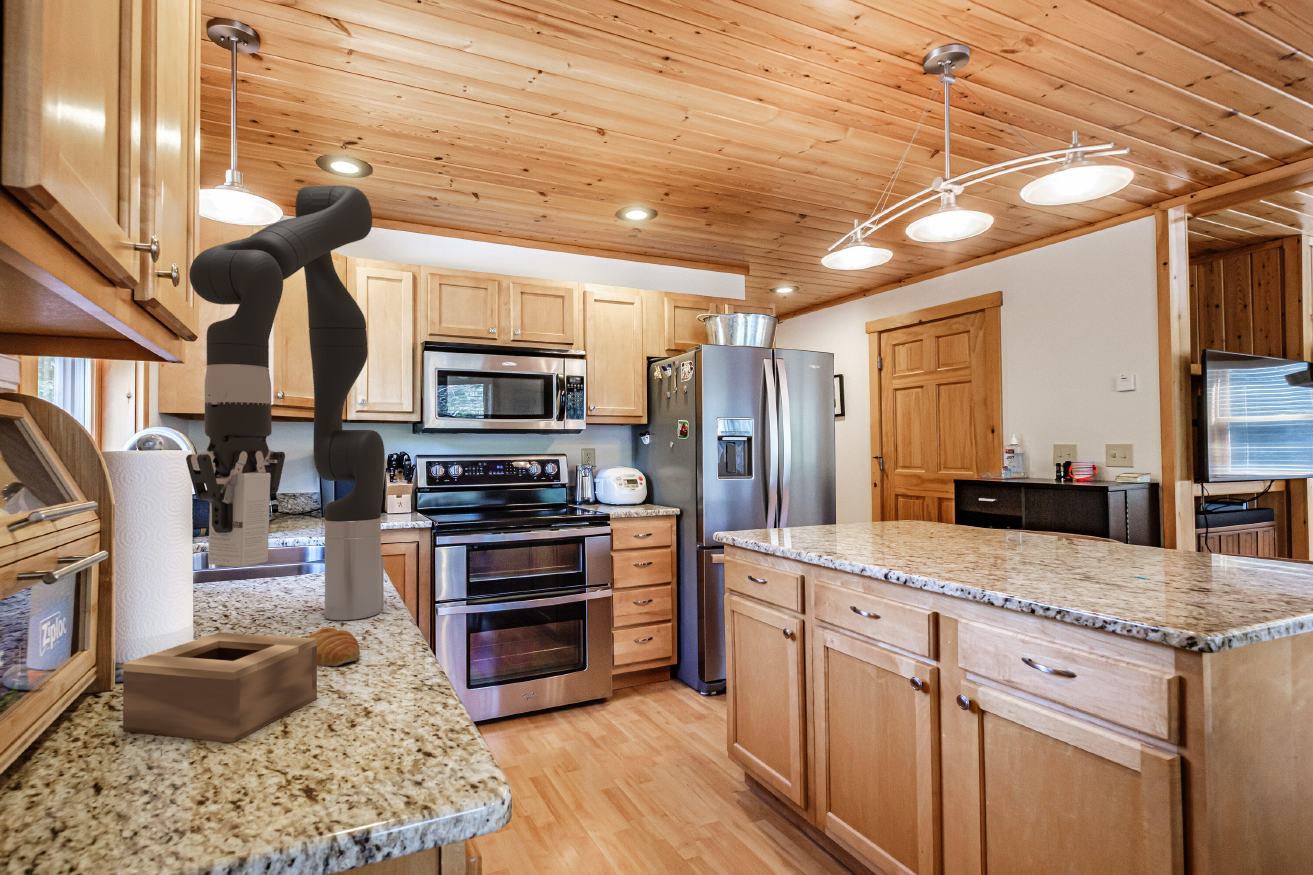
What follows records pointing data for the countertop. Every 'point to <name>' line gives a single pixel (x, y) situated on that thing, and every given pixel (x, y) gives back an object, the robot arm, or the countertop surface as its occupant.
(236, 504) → the skincare box
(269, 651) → the slot box
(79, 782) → the countertop surface
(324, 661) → the pastry
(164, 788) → the countertop surface
